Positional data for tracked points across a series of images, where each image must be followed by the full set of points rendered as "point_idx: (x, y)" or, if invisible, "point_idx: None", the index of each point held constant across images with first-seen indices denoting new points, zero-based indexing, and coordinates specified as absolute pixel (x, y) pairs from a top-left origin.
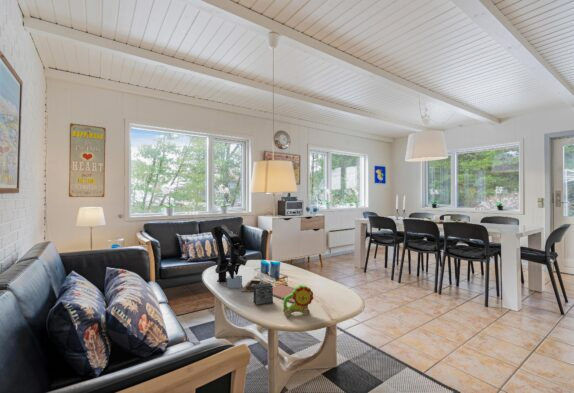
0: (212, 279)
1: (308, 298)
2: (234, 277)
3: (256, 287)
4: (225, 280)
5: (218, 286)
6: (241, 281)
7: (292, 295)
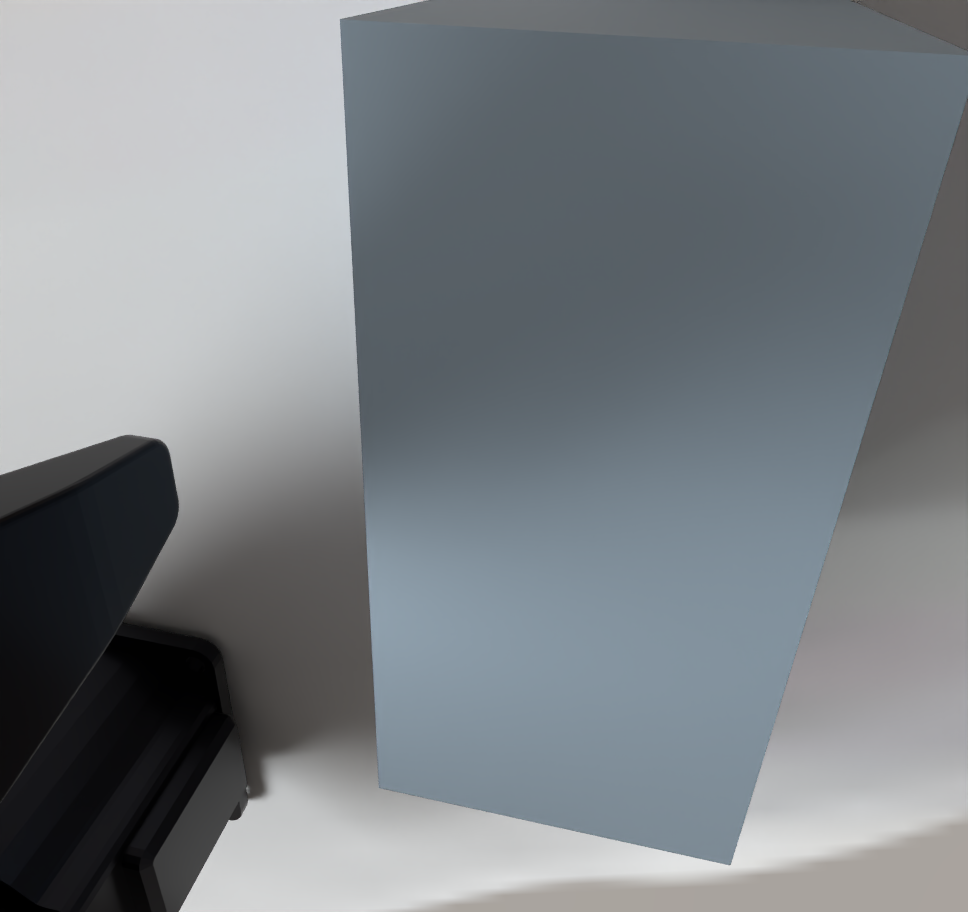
0: None
1: None
2: (815, 538)
3: None
4: (152, 654)
5: None
6: (595, 2)
7: None
